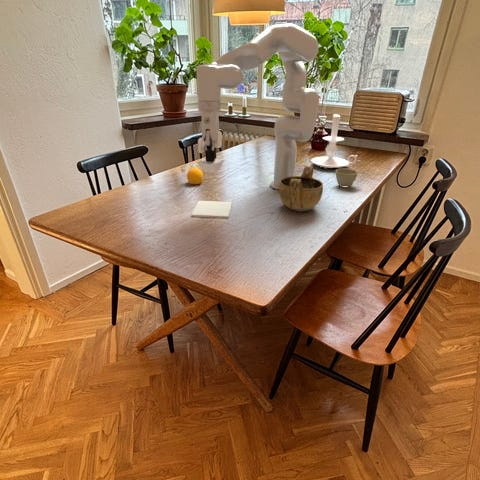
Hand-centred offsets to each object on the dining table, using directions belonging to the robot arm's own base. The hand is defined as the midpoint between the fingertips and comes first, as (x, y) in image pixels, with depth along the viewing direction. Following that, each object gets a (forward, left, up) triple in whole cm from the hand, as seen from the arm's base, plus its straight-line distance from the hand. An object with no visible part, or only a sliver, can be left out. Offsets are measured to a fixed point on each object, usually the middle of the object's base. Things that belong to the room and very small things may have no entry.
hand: (211, 159), depth 119 cm
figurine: (0, 0, -4) cm, 4 cm away
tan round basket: (-34, -5, -20) cm, 40 cm away
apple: (+13, -31, -20) cm, 39 cm away
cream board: (0, 0, -20) cm, 20 cm away
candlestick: (-58, -65, -20) cm, 89 cm away
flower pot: (-58, -34, -20) cm, 70 cm away
